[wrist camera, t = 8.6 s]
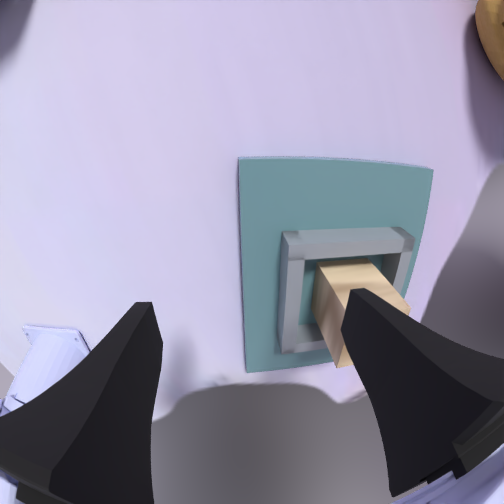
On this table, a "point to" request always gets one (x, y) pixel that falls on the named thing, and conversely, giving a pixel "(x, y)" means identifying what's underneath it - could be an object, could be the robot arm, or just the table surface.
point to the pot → (492, 31)
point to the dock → (318, 242)
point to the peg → (346, 298)
